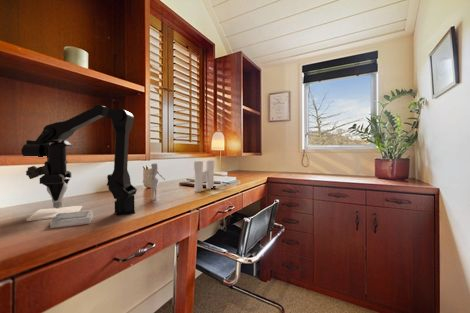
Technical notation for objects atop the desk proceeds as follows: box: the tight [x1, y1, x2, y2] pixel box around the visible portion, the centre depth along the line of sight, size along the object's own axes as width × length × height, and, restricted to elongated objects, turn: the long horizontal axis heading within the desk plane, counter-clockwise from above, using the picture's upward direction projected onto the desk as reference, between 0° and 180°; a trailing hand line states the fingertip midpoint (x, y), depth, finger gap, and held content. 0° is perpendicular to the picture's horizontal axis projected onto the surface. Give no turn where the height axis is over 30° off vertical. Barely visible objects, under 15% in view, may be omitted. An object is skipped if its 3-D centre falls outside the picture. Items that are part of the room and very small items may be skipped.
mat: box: [26, 205, 83, 222], centre depth 85 cm, size 14×14×1 cm
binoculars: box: [193, 159, 215, 193], centre depth 138 cm, size 17×5×18 cm, turn 151°
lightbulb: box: [46, 183, 68, 209], centre depth 85 cm, size 6×6×11 cm
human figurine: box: [142, 163, 166, 201], centre depth 108 cm, size 12×4×18 cm, turn 141°
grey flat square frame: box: [49, 209, 94, 229], centre depth 76 cm, size 10×10×2 cm
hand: (57, 199), depth 85 cm, fingers closed on lightbulb, 5 cm apart
